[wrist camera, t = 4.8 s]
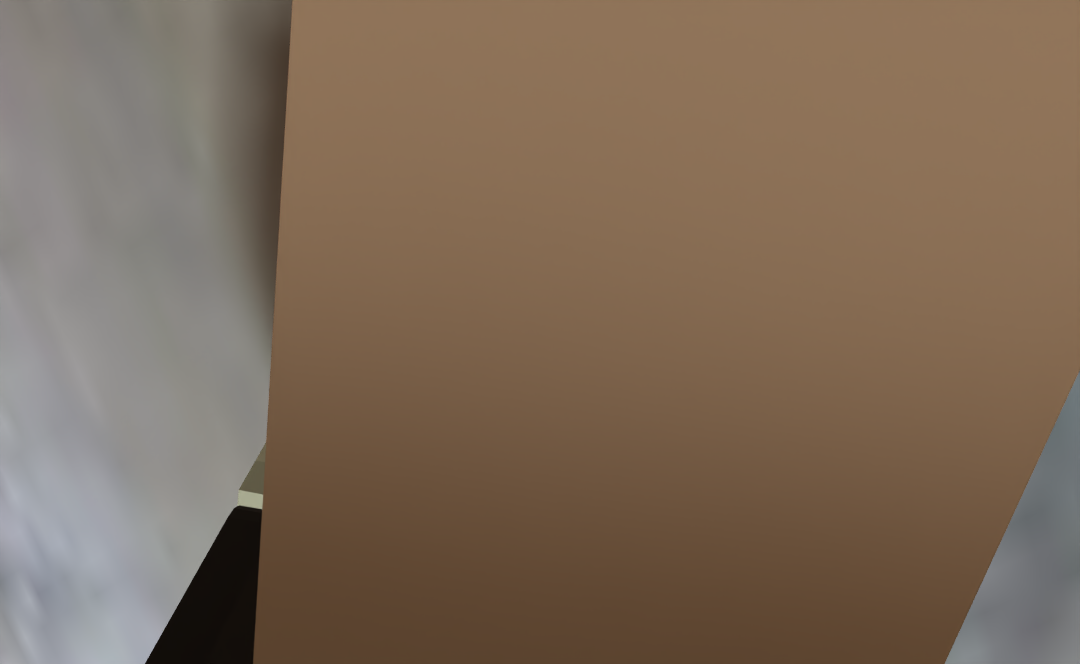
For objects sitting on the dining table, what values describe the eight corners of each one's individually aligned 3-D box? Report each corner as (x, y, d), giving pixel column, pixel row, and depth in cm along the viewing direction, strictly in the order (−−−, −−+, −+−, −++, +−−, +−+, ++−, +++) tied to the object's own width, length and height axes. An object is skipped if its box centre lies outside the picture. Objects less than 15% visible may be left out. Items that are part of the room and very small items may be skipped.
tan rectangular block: (546, -649, 8) (407, -1941, 2) (999, -560, 8) (1971, -1572, 2) (370, 701, 14) (218, 1261, 8) (623, 744, 14) (638, 1328, 8)
